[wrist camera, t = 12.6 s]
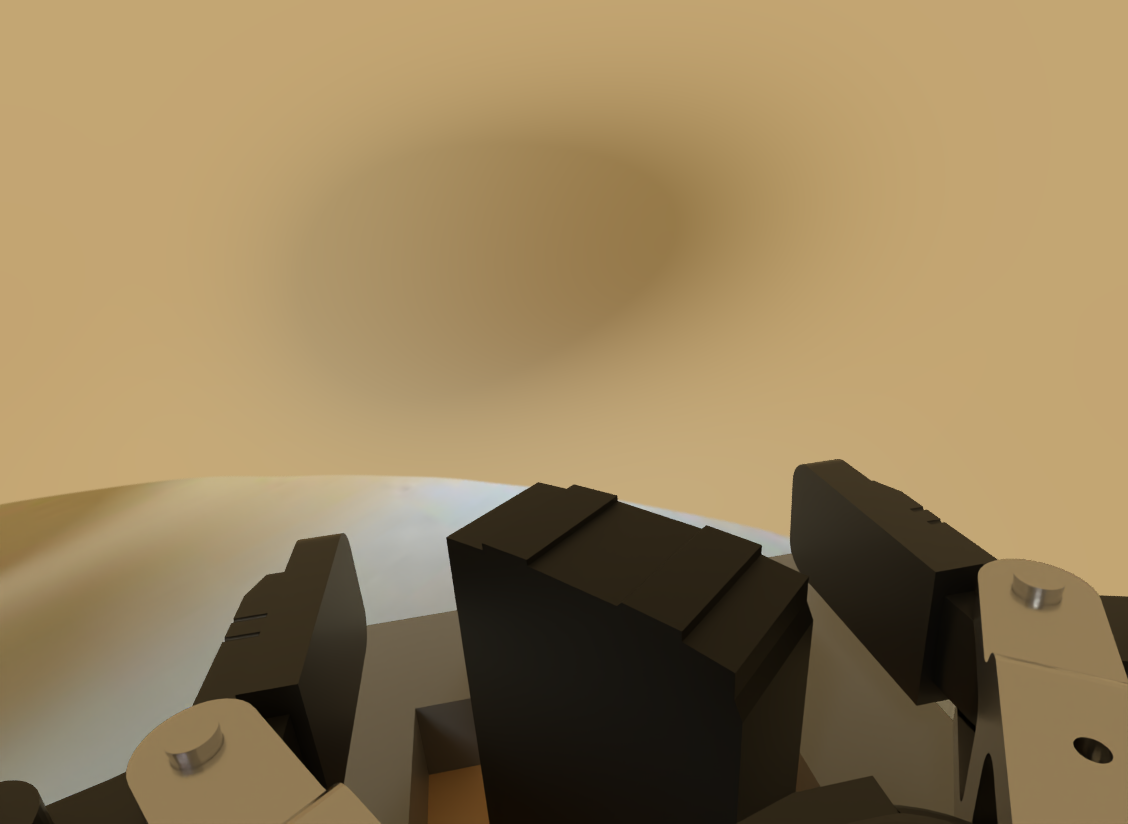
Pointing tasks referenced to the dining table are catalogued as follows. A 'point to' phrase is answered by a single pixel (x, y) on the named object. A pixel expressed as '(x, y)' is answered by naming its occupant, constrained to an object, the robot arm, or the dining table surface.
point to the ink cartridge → (627, 663)
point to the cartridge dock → (451, 758)
